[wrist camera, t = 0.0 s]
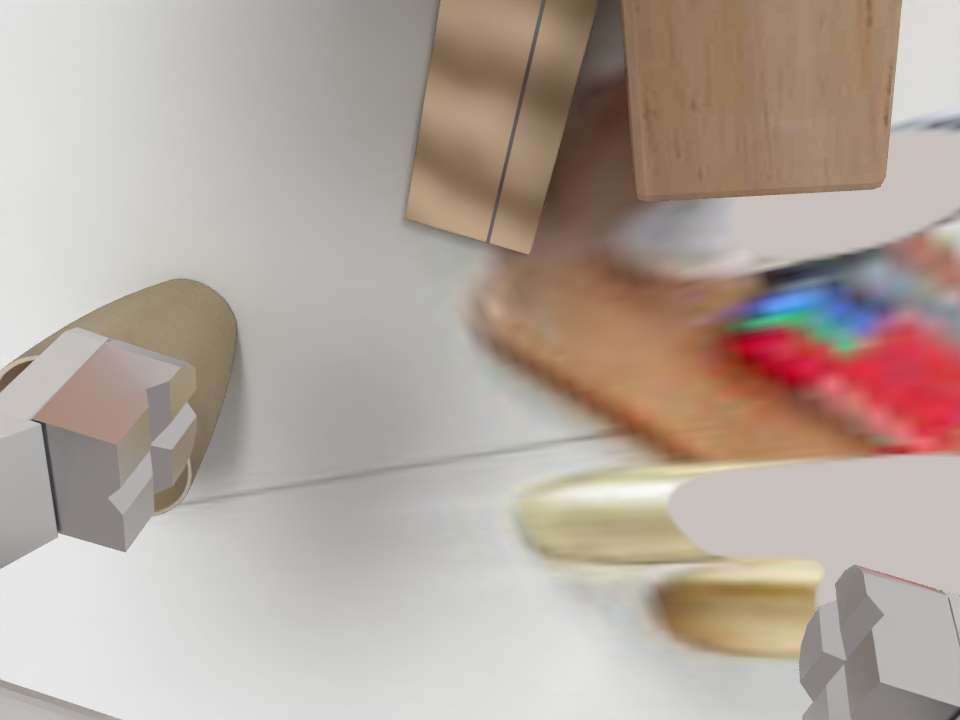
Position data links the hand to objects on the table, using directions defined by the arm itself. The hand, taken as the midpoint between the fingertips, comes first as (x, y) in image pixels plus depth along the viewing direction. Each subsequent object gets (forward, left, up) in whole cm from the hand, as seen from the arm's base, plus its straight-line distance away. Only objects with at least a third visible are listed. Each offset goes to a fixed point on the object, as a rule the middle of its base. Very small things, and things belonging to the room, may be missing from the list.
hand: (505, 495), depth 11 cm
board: (+12, -7, -48) cm, 50 cm away
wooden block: (+3, +5, -48) cm, 49 cm away
